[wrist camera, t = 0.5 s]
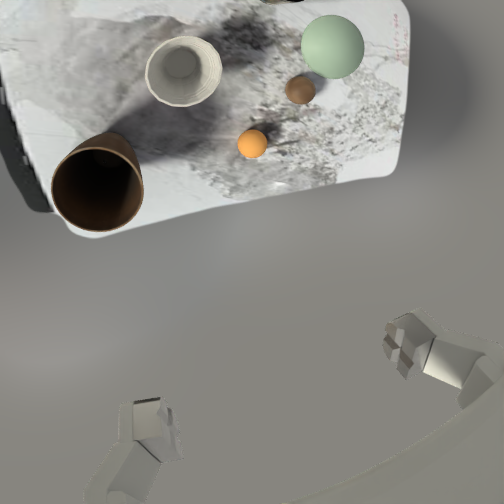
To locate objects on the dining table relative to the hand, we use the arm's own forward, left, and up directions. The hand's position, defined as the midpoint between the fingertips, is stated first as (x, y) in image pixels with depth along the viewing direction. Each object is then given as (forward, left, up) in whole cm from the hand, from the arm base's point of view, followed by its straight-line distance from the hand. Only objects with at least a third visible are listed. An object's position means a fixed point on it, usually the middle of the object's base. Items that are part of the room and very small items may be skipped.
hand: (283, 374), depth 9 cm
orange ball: (+3, +17, -48) cm, 51 cm away
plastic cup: (-2, -3, -51) cm, 51 cm away
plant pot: (+19, -5, -51) cm, 55 cm away
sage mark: (-23, +17, -51) cm, 59 cm away
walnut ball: (-11, +17, -48) cm, 52 cm away
